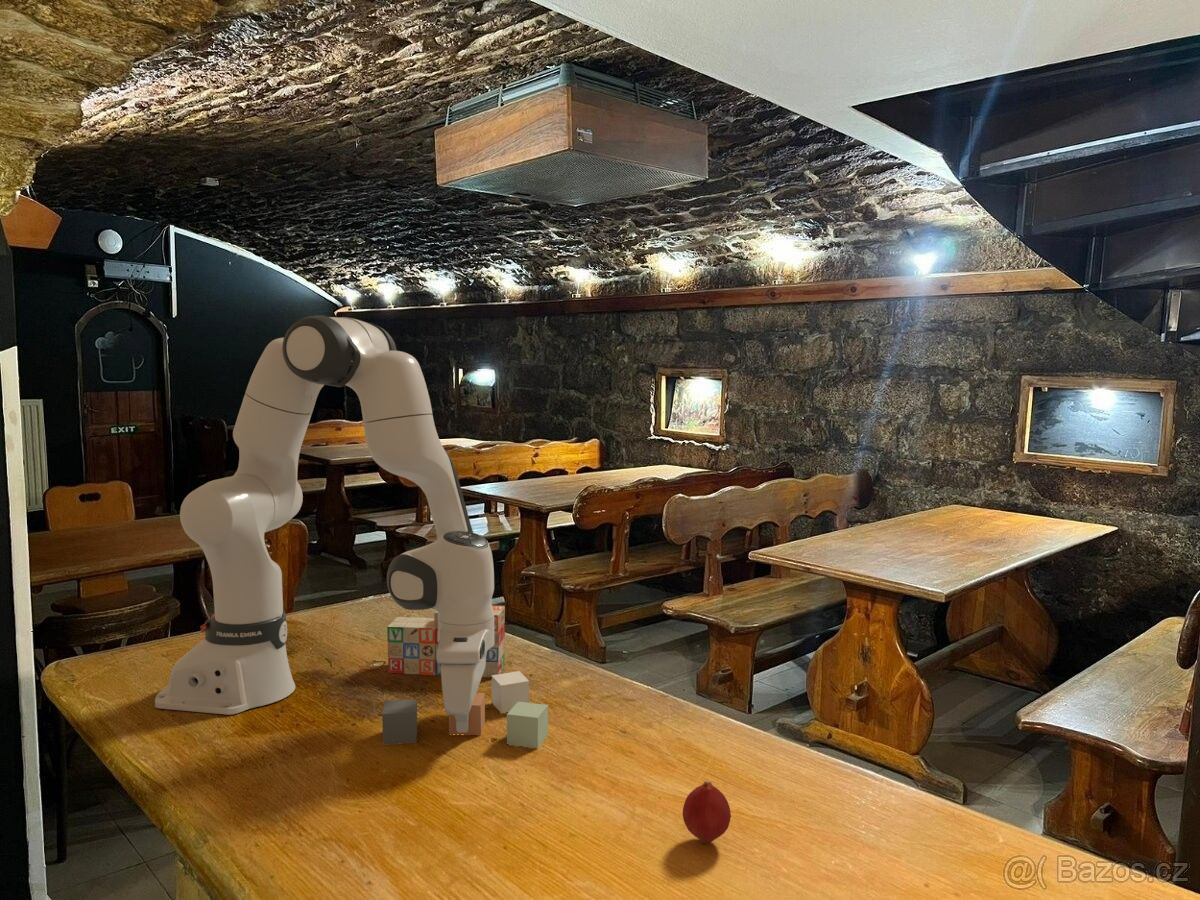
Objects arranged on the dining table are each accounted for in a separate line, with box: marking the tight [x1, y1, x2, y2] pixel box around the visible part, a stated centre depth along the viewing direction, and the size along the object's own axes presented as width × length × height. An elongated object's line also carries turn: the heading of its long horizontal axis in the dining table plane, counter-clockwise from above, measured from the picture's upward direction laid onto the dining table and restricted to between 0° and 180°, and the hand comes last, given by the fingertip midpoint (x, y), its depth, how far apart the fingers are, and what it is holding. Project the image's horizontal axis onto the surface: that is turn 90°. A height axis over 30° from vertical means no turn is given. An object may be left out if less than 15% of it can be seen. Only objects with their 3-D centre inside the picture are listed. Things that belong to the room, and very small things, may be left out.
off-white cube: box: [491, 670, 530, 714], centre depth 143 cm, size 5×5×5 cm
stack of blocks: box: [386, 604, 506, 678], centre depth 159 cm, size 21×6×12 cm, turn 85°
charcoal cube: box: [381, 698, 418, 746], centre depth 131 cm, size 5×5×5 cm
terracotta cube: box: [448, 692, 486, 736], centre depth 134 cm, size 5×5×5 cm
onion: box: [682, 780, 732, 845], centre depth 102 cm, size 6×6×8 cm
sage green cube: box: [506, 702, 549, 749], centre depth 130 cm, size 5×5×5 cm
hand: (467, 718), depth 134 cm, fingers open, 7 cm apart
